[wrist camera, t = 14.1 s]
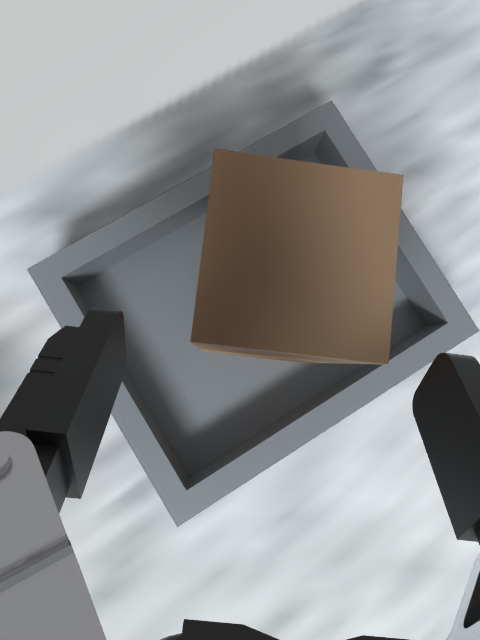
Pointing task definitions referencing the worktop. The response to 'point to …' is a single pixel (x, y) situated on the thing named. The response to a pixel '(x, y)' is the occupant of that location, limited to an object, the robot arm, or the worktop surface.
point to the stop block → (297, 261)
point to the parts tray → (223, 369)
